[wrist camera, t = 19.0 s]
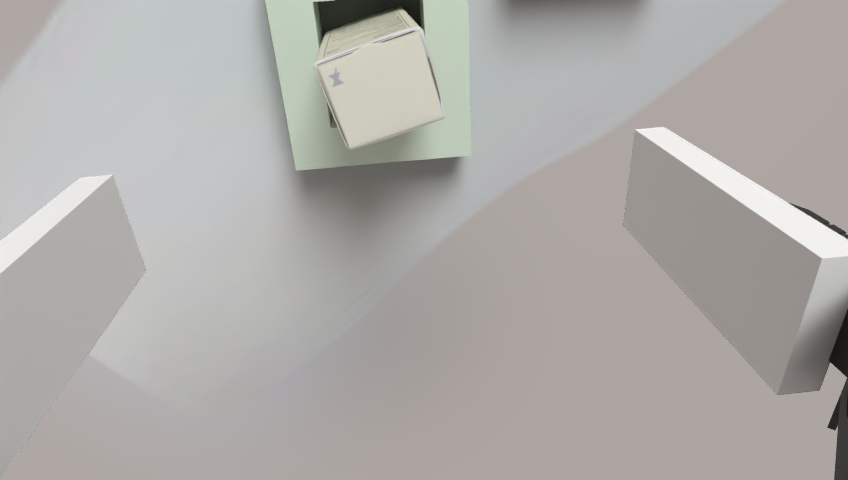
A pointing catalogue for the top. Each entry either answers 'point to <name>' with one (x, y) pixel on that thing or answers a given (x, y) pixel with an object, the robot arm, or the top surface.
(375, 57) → the box
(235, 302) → the top surface
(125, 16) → the top surface
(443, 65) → the socket
